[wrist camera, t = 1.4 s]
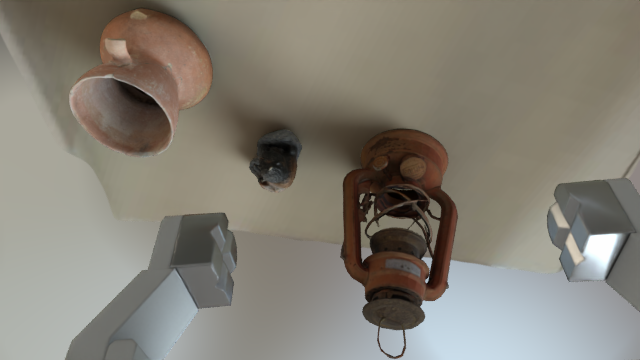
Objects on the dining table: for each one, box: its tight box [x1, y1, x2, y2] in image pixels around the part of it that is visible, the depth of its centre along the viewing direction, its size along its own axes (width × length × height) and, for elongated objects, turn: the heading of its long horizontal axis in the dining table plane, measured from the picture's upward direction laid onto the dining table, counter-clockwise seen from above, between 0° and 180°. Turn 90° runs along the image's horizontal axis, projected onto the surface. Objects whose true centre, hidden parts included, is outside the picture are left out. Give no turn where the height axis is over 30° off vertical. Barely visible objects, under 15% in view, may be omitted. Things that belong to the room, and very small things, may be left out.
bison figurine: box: [249, 130, 302, 193], centre depth 74 cm, size 12×7×10 cm, turn 166°
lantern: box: [340, 129, 458, 359], centre depth 65 cm, size 17×13×30 cm
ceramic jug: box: [69, 8, 213, 157], centre depth 62 cm, size 18×14×14 cm
